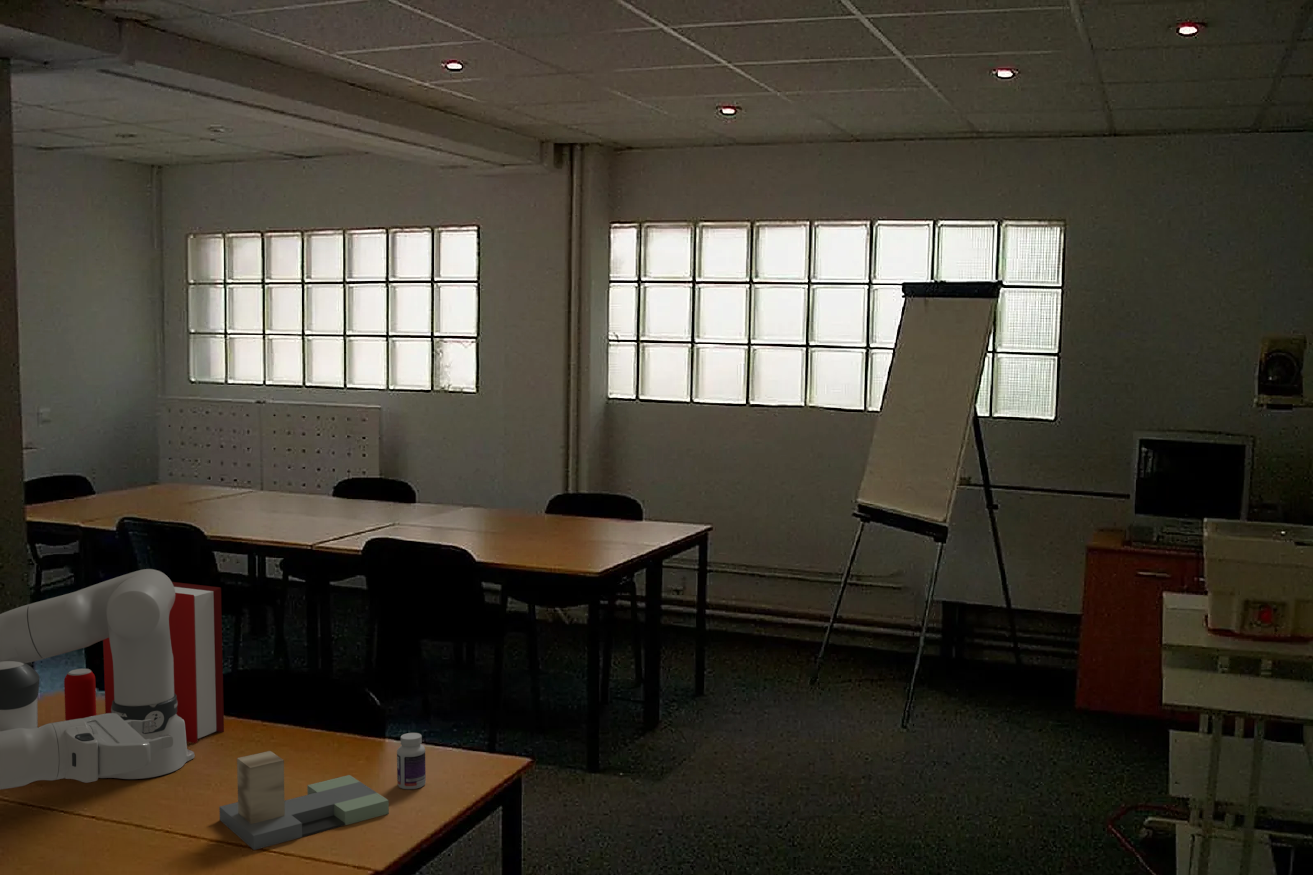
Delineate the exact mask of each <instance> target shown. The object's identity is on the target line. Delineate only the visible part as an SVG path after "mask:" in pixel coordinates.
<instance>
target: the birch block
mask: <svg viewBox="0 0 1313 875" xmlns="http://www.w3.org/2000/svg"><path fill="white" fill-rule="evenodd" d="M236 764H237V766H236V769H237V770H236V772H237V802H238V813H239V814H240V815H241V816H242V817H243V818H244V819H246V820H247V821H248V822H249V823H250V824H253V823H257V822H261V821H265V820H269V819H273V818H277V817H281V816H285V802H284V801H285V760H284V759H283V758H281V757H280V756H278V755H277V754H275V753H274V752H273V751H271V750H267V751H264V752H260V753H255V754H249V755H245V756H240V757H237V758H236Z"/></svg>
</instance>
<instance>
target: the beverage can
mask: <svg viewBox="0 0 1313 875" xmlns="http://www.w3.org/2000/svg"><path fill="white" fill-rule="evenodd" d="M63 682H64V683H63V684H64V686H63V687H64V689H63V690H64V714H65V715H64V716H65V717H64V718H65V720H64V721H67V720H73V719H80V718H86V717H91V716H96V715H97V695H96V692H97V690H96V688H97V687H96V676H95V674H94V673H93V671H92V670H91V669H89V668H77V669H72V670H70V671H69V672H67V674H66V675H65V677H64V681H63Z"/></svg>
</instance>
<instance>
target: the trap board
mask: <svg viewBox="0 0 1313 875" xmlns="http://www.w3.org/2000/svg"><path fill="white" fill-rule="evenodd" d="M306 790H307V794H306V795H301V796H298V797H293V798H290V799H286V800H285V799H284V802H285V816H281V817H277V818H273V819H269V820H265V821H261V822H257V823H253V824H250V823H249V822H248V821H247V820H246V819H244V818H243V817H242V816H241V815H240V814H239V813H238V801H237V802H232V803H229V804H225V805H219V807H218V808H219V821H220V822H221V823H222V824H224V826H226V827H227V828H228V829H229V830H230V831H231V832H233V833H234V834H235V835H236V836H238V838H239V839H240V840H242V841H243V842H244V843H245V844H246V845H248V847H249V848H251V849H252V850H253V851H256V850H259V849H263V848H267V847H271V846H275V845H278V844H281V843H285V842H289V841H292V840H293V841H294V840H297V839H300V838H304V837H308V836H311V835H315V834H319V833H323V832H326V831H330V830H334V829H336V828H340V827H344V826H348V825H352V824H356V823H359V822H362V821H367V820H370V819H373V818H377V817H382V816H385V815H388V814H389V812H390V808H389V807H390V803H389V802H390V800H389V799H387V798H386V797H384V796H383V795H381V794H380V793H378V792H376V791H375V790H373V789H372V788H371V787H369V786H367V785H366V784H364V783H363V782H362V781H360V780H358V779H357V778H355V777H353V776H352V775H350V774H347V775H343V776H339V777H336V778H331V779H328V780H324V781H319V782H315V783H311V784H307V789H306Z"/></svg>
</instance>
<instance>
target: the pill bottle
mask: <svg viewBox="0 0 1313 875" xmlns="http://www.w3.org/2000/svg"><path fill="white" fill-rule="evenodd" d="M422 738H423V736H422V734H421V733H419V732H408V733H404V734H402V735H401V736H400V746H399V747H398V748H397V750H396V775H397V776H396V778H397V779H396V780H397V786H398V788H400V789H403V790H416V789H421V788H422V787H424V786H425V784H426V780H427V779H426V772H427V771H426V747H425V746H424V745H423V744H422V742H423V740H422Z"/></svg>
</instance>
